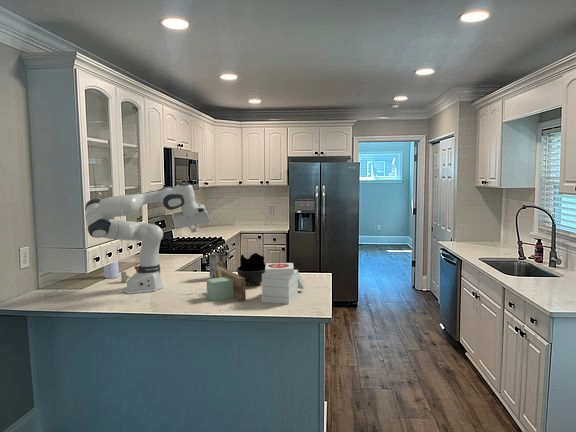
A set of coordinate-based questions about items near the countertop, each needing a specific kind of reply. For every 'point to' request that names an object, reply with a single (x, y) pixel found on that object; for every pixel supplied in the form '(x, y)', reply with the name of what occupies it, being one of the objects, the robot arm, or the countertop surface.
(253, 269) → the coal bowl
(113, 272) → the soap bottle
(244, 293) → the walnut backstop board
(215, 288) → the sage block
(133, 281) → the robot arm
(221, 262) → the coffee box
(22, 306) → the countertop surface
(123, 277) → the architectural model
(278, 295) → the pizza box stack
